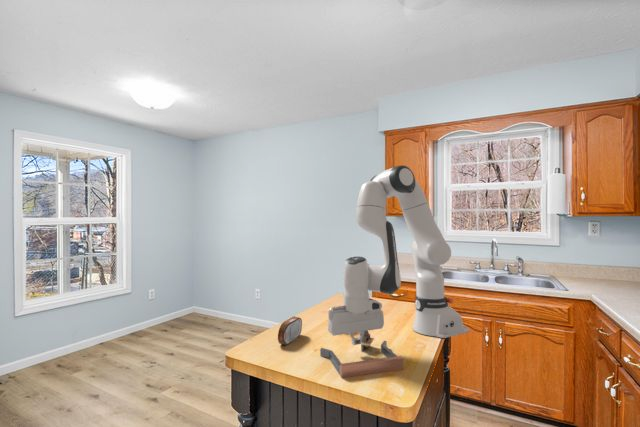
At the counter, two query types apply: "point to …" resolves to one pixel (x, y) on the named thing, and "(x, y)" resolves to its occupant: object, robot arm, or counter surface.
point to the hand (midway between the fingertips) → (356, 344)
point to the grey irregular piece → (366, 340)
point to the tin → (289, 330)
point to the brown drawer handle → (365, 363)
